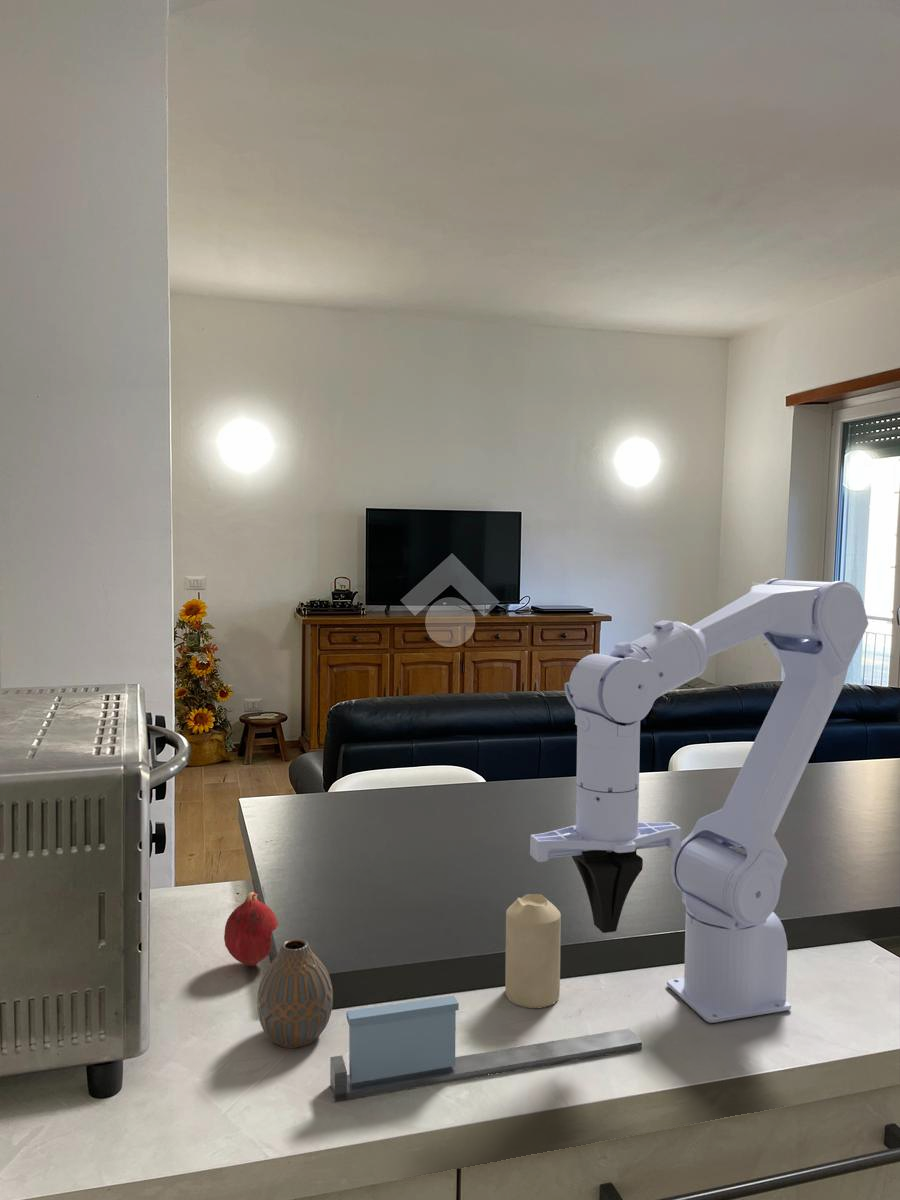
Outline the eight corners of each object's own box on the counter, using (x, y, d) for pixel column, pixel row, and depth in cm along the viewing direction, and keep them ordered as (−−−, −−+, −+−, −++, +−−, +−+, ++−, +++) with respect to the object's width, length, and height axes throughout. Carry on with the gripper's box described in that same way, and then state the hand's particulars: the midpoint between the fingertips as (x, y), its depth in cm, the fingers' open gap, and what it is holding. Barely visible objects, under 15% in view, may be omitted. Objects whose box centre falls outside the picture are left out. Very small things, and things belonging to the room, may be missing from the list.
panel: (453, 1057, 76) (453, 995, 76) (458, 1066, 75) (458, 1003, 75) (346, 1075, 74) (346, 1010, 73) (349, 1085, 72) (349, 1019, 72)
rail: (629, 1034, 82) (629, 1009, 81) (641, 1048, 79) (642, 1023, 79) (330, 1084, 74) (330, 1057, 74) (334, 1101, 71) (334, 1073, 71)
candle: (557, 1011, 86) (558, 912, 85) (501, 1005, 87) (502, 907, 86) (561, 984, 91) (562, 890, 90) (509, 979, 92) (510, 886, 91)
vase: (328, 1012, 85) (328, 924, 85) (336, 1052, 79) (336, 957, 78) (256, 1021, 84) (255, 931, 83) (258, 1062, 77) (257, 965, 76)
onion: (279, 976, 92) (279, 902, 92) (223, 981, 91) (222, 906, 91) (278, 951, 98) (278, 881, 98) (225, 956, 97) (224, 885, 96)
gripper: (552, 802, 75) (550, 956, 76) (700, 790, 79) (696, 936, 80) (522, 781, 82) (520, 923, 83) (660, 771, 86) (657, 906, 87)
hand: (605, 927), depth 82 cm, fingers closed
